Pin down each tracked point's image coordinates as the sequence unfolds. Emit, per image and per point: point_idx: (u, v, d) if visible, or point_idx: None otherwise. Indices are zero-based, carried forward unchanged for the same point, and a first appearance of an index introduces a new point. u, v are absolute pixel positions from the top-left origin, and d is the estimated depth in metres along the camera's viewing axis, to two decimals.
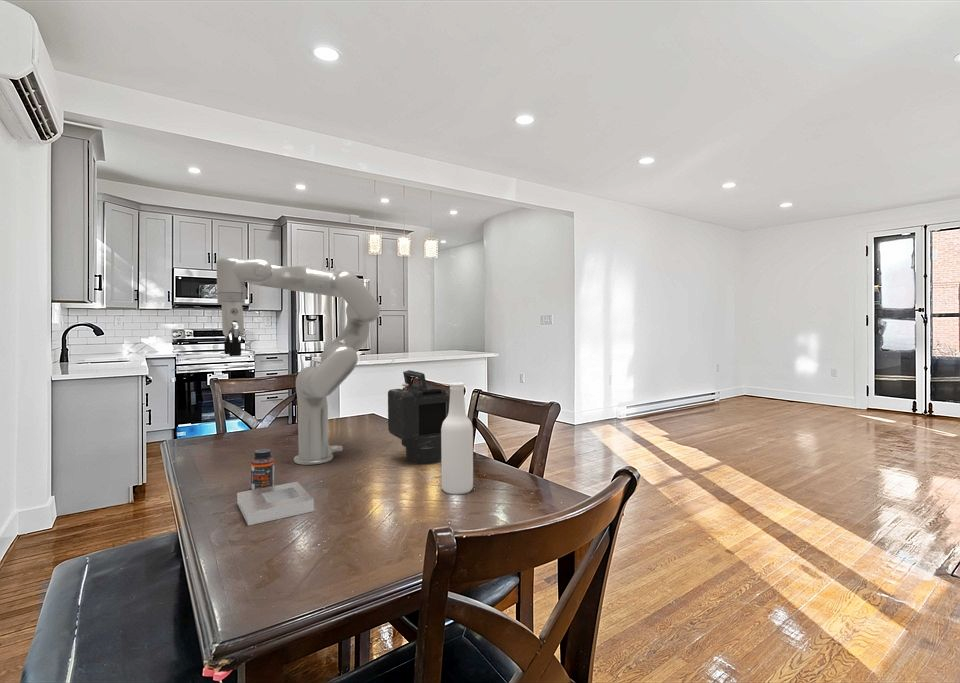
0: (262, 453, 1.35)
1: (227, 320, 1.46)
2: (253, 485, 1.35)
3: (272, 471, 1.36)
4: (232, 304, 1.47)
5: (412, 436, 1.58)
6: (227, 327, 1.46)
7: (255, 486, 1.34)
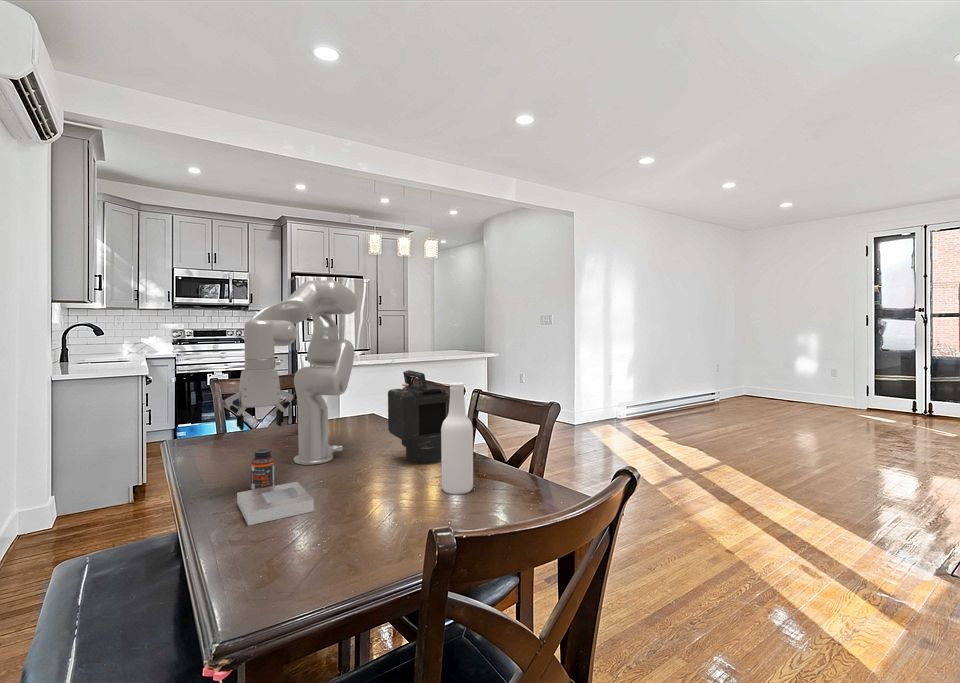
0: (262, 453, 1.35)
1: (279, 388, 1.37)
2: (253, 485, 1.35)
3: (272, 471, 1.36)
4: None
5: (412, 436, 1.58)
6: (279, 395, 1.37)
7: (255, 486, 1.34)
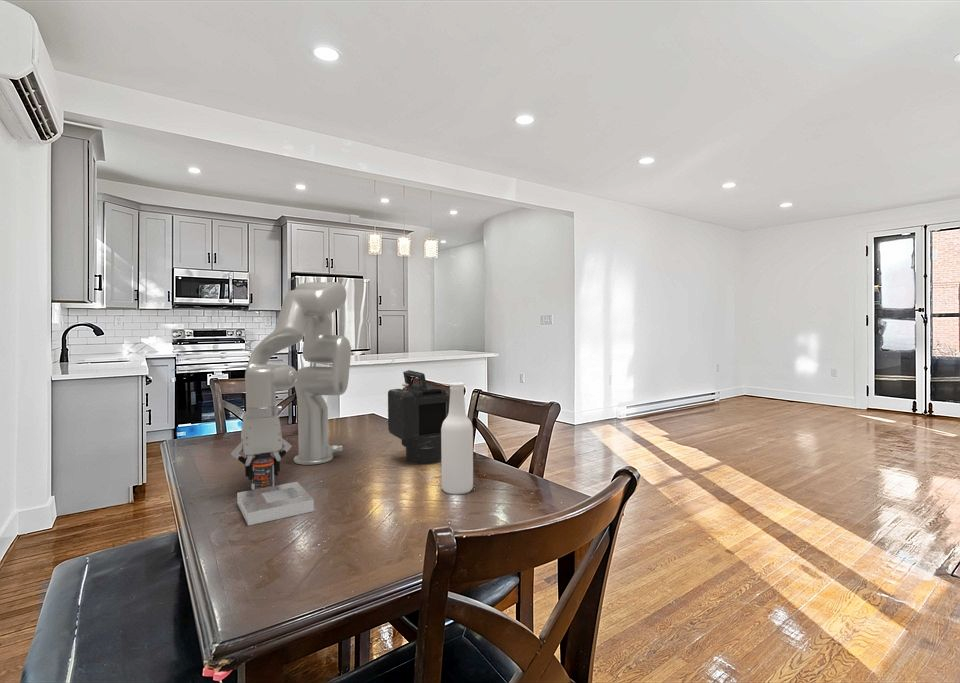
0: (262, 453, 1.35)
1: (281, 434, 1.38)
2: (253, 485, 1.35)
3: (272, 471, 1.36)
4: None
5: (412, 436, 1.58)
6: (281, 442, 1.38)
7: (255, 486, 1.34)
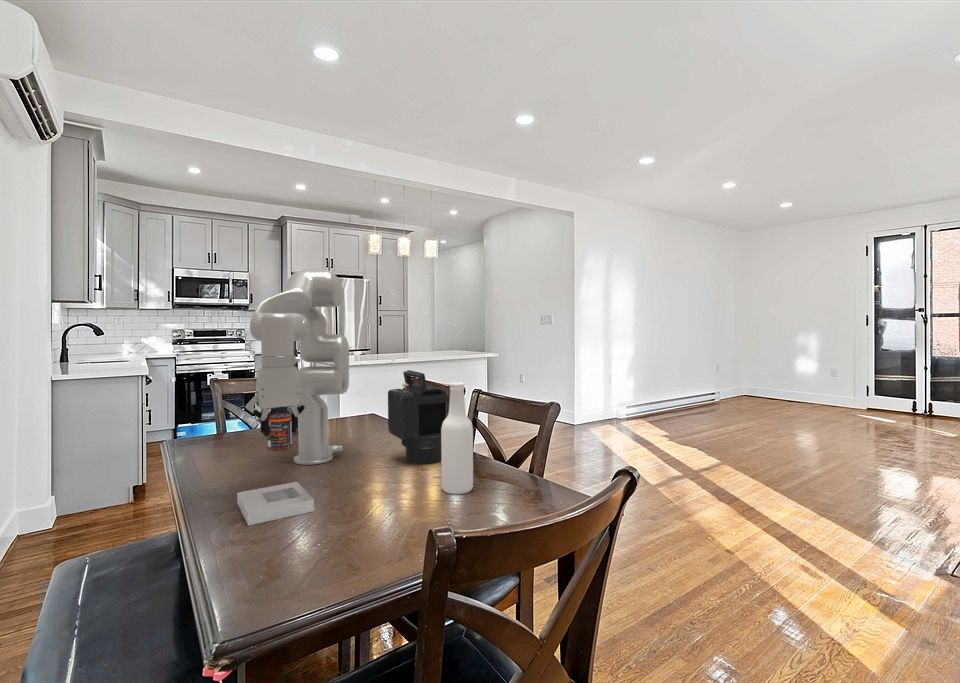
0: (279, 407, 1.23)
1: (299, 387, 1.25)
2: (269, 442, 1.22)
3: (290, 427, 1.24)
4: None
5: (412, 436, 1.58)
6: (300, 395, 1.25)
7: (271, 443, 1.22)
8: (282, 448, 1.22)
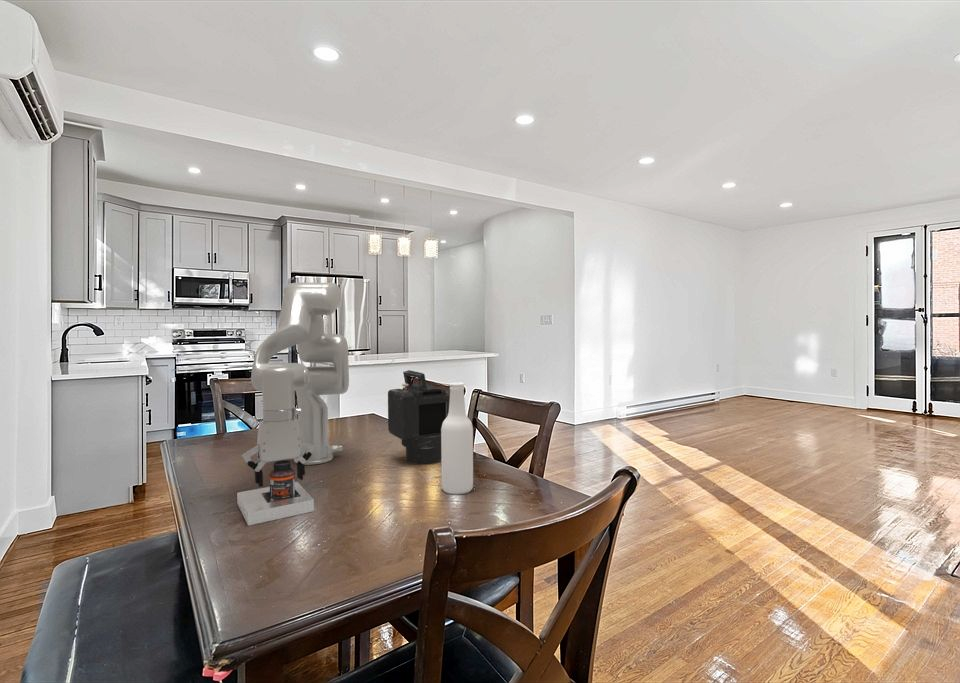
0: (282, 465, 1.24)
1: (300, 439, 1.26)
2: (272, 500, 1.23)
3: (292, 485, 1.25)
4: None
5: (412, 436, 1.58)
6: (301, 447, 1.26)
7: (274, 501, 1.23)
8: None
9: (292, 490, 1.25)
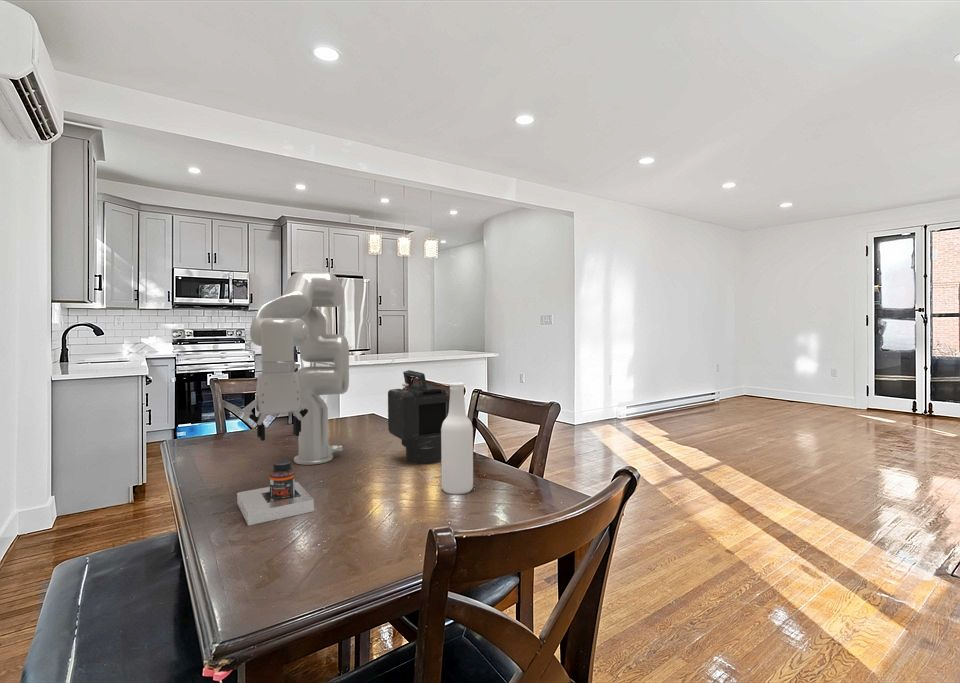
0: (282, 465, 1.24)
1: (299, 393, 1.25)
2: (272, 500, 1.23)
3: (292, 485, 1.25)
4: None
5: (412, 436, 1.58)
6: (300, 401, 1.25)
7: (274, 501, 1.23)
8: None
9: (292, 490, 1.25)
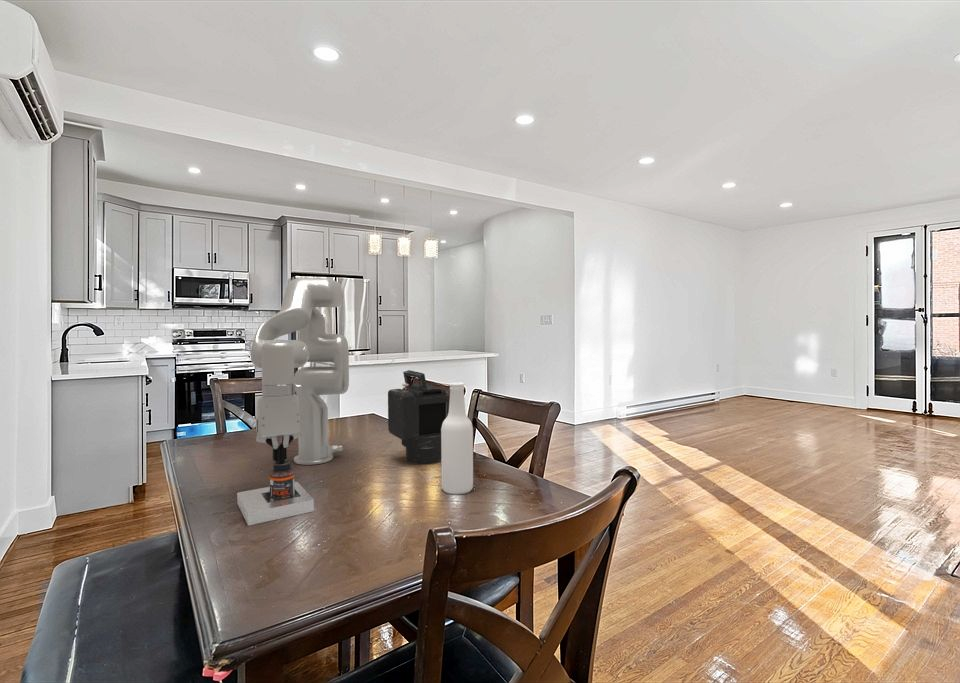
0: (281, 465, 1.23)
1: (300, 415, 1.25)
2: (272, 500, 1.23)
3: (292, 485, 1.25)
4: None
5: (412, 436, 1.58)
6: (300, 423, 1.25)
7: None
8: None
9: (292, 490, 1.25)
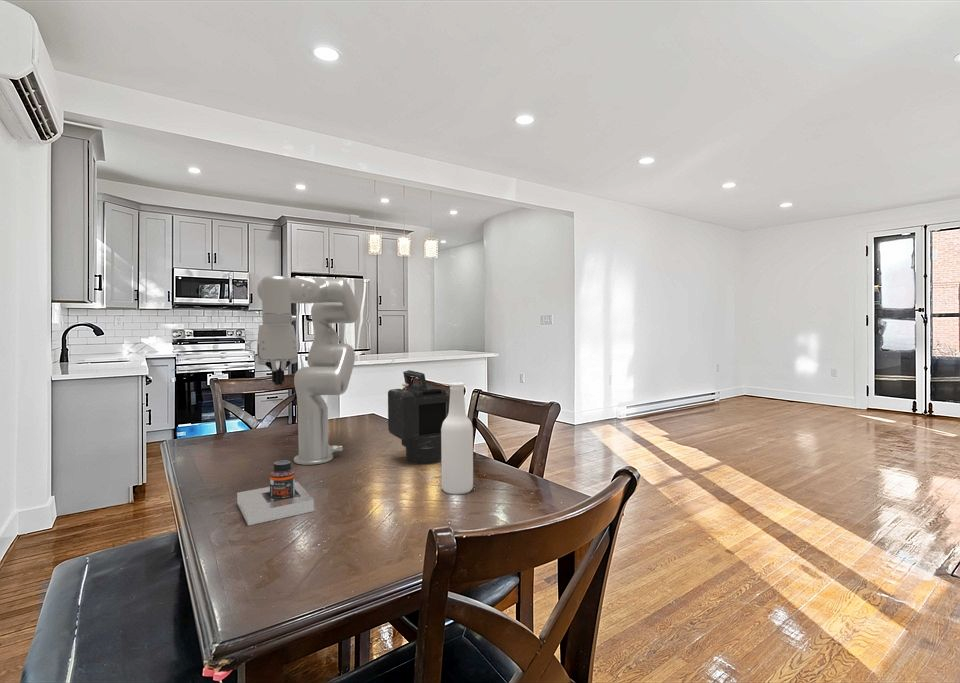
0: (282, 465, 1.24)
1: None
2: (272, 500, 1.23)
3: (293, 485, 1.25)
4: None
5: (412, 436, 1.58)
6: (296, 350, 1.41)
7: (274, 501, 1.23)
8: None
9: (292, 490, 1.25)
